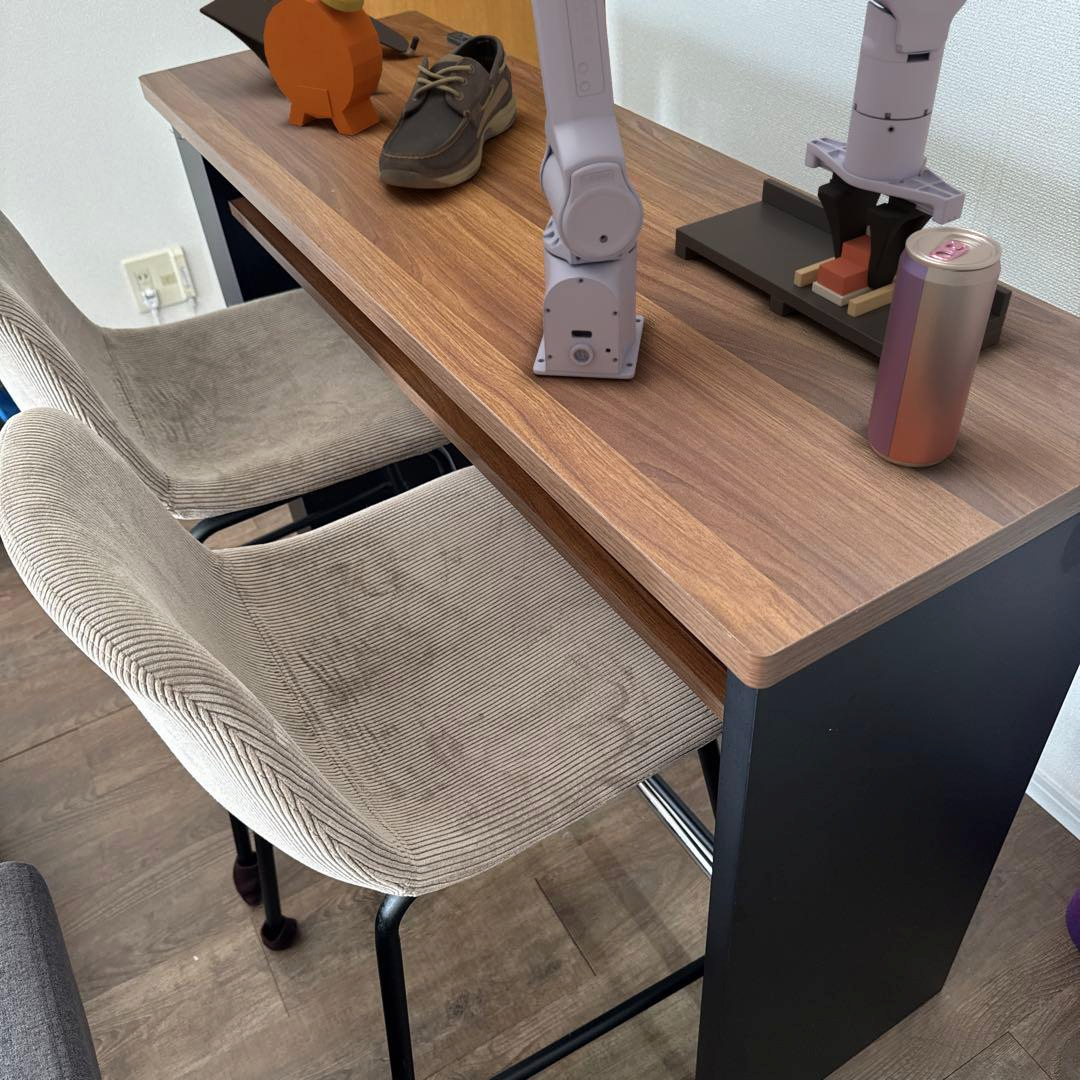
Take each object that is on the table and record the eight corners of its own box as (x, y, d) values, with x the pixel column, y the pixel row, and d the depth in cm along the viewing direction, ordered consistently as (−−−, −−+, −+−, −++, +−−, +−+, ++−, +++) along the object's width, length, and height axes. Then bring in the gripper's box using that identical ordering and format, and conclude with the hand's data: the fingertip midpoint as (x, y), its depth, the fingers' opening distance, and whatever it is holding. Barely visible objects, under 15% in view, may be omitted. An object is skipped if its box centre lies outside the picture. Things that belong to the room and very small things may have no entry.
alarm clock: (393, 121, 129) (369, -64, 116) (362, 138, 125) (333, -52, 112) (309, 106, 135) (277, -72, 122) (277, 122, 131) (240, -61, 118)
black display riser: (998, 342, 84) (1013, 290, 81) (899, 385, 80) (910, 333, 77) (765, 223, 103) (769, 177, 100) (674, 253, 99) (676, 207, 96)
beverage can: (848, 447, 75) (884, 248, 65) (894, 412, 78) (934, 216, 68) (925, 482, 71) (974, 277, 61) (969, 443, 74) (1023, 242, 64)
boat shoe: (355, 203, 111) (338, 97, 104) (441, 108, 132) (431, 15, 125) (455, 209, 108) (444, 101, 101) (525, 111, 130) (520, 17, 123)
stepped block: (882, 264, 90) (891, 216, 87) (912, 279, 88) (922, 230, 85) (811, 291, 87) (817, 241, 84) (840, 307, 85) (848, 257, 82)
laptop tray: (351, 147, 139) (371, 83, 133) (189, 61, 137) (202, -9, 130) (407, 89, 156) (427, 30, 150) (264, 11, 153) (279, -52, 147)
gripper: (1009, 121, 75) (967, 296, 83) (860, 71, 84) (837, 233, 93) (939, 145, 72) (903, 323, 81) (793, 90, 82) (775, 254, 90)
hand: (863, 276), depth 87 cm, fingers closed on stepped block, 3 cm apart
